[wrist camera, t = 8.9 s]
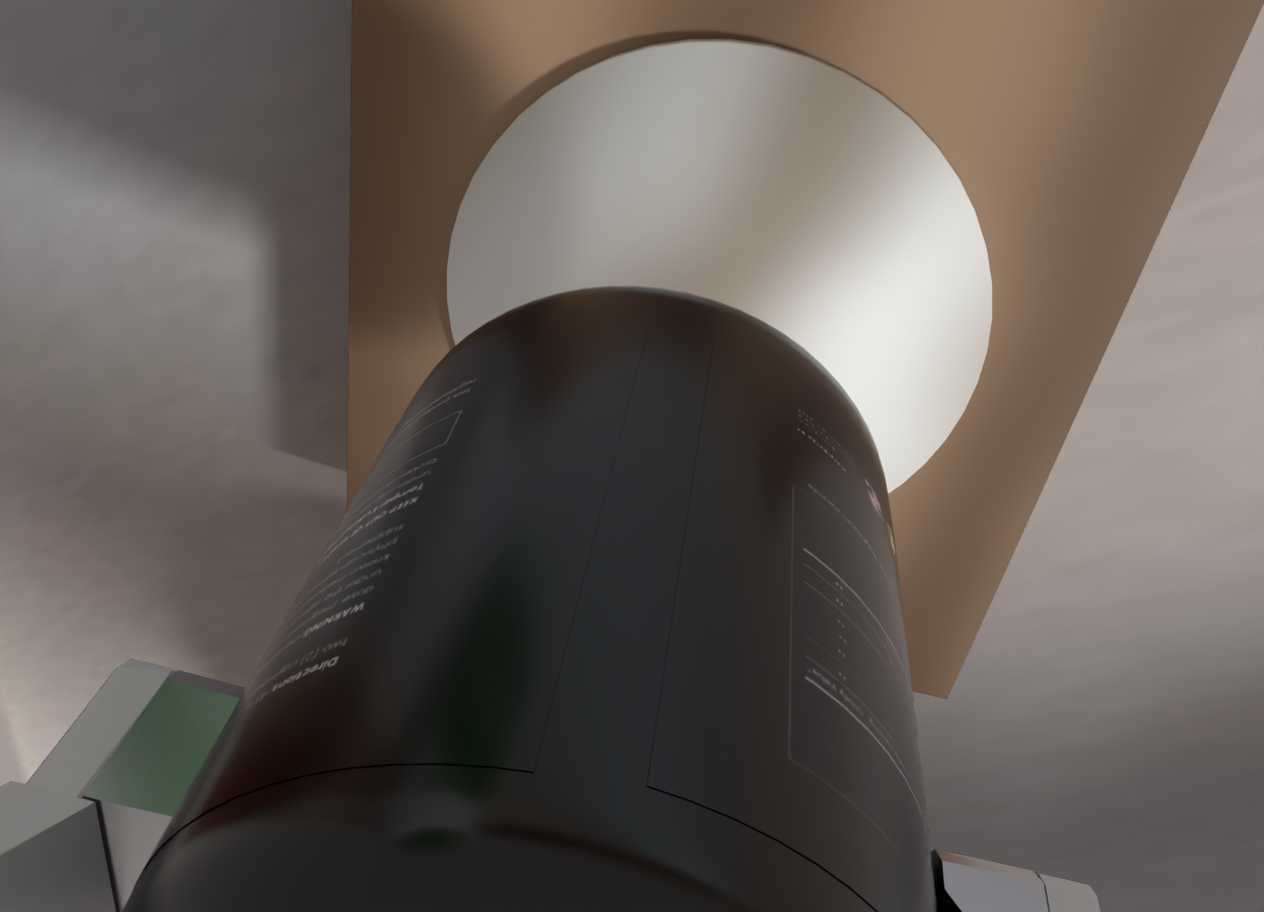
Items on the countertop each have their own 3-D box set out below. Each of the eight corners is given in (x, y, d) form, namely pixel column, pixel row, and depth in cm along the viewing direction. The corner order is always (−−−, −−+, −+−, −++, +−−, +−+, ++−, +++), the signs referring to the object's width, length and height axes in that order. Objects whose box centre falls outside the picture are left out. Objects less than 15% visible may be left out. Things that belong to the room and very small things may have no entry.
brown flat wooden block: (1237, -100, 18) (1305, -71, 15) (937, 611, 27) (948, 709, 24) (419, -257, 19) (347, -256, 16) (391, 487, 28) (341, 568, 25)
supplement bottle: (524, 696, 18) (169, 1849, 8) (326, 344, 15) (-638, 1550, 5) (943, 625, 16) (1134, 2052, 6) (821, 197, 13) (812, 1774, 3)
